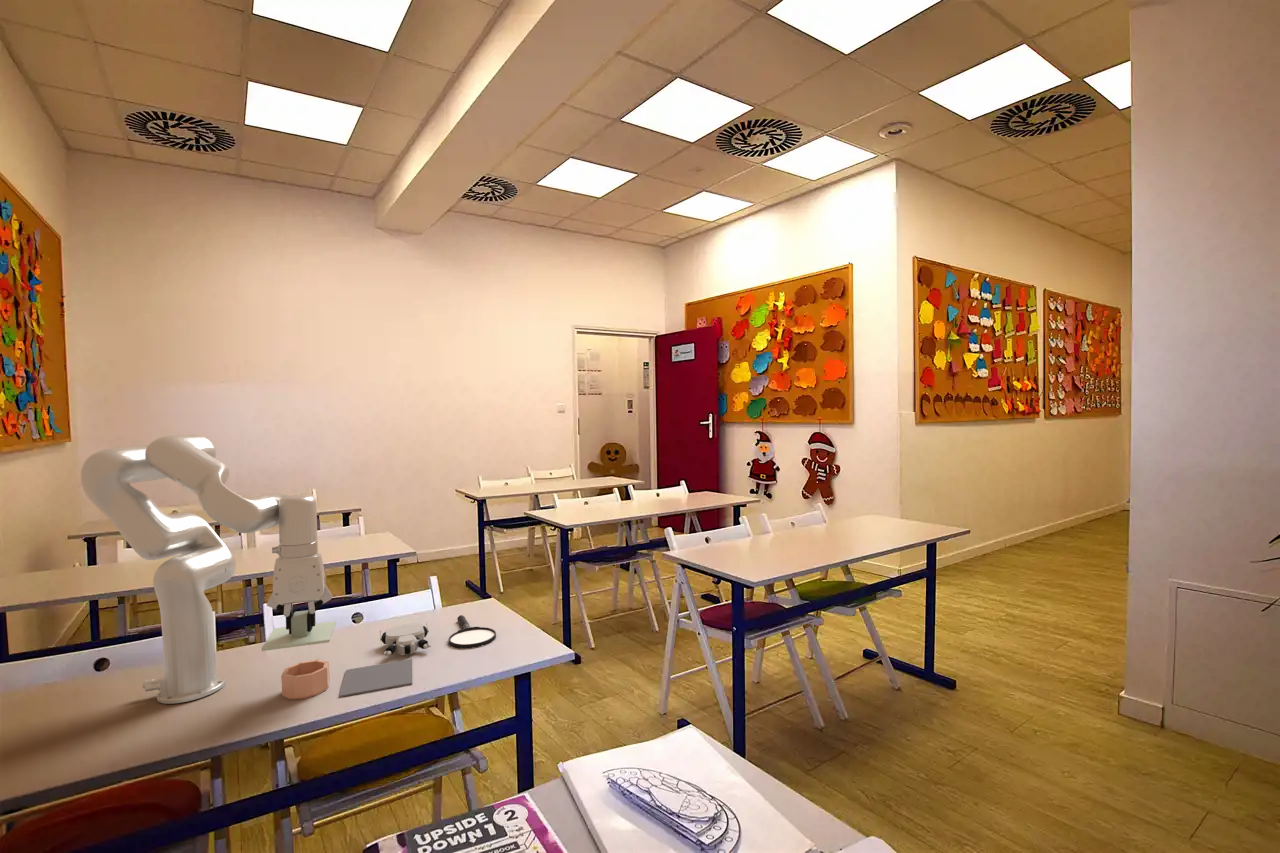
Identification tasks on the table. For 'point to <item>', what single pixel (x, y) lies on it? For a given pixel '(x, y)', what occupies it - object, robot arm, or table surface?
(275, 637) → the cover
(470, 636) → the magnifying glass
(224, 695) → the table surface
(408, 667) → the mat
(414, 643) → the robot toy
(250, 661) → the table surface
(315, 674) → the bowl
